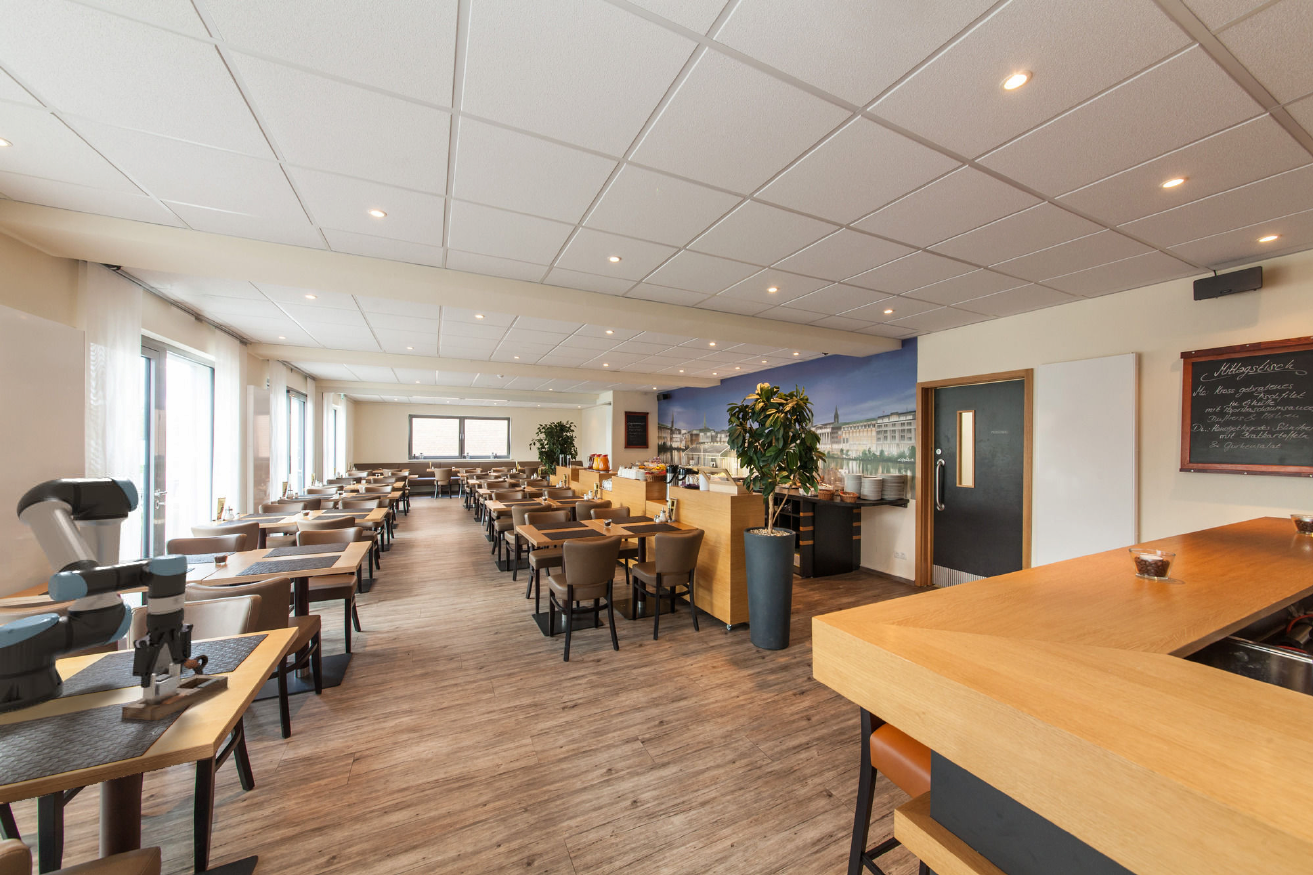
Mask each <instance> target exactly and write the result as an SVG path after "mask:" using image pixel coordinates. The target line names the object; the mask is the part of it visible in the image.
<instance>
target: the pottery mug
mask: <svg viewBox="0 0 1313 875" xmlns="http://www.w3.org/2000/svg"><path fill="white" fill-rule="evenodd" d="M186 660H187V661H186V662H185V663H183V667H184V668H186V669H188V670H192V671H194V674H192V675H191V676H190V677H192V676H194V675H204V671H203V670H204V668H205V667H206V666H207V665H208V663H209V657H208V655H206V654H200V655H198V656H196V657H195V658H187V659H186ZM200 661H201V663H200ZM162 674H166V675H169V668H166V669H162V671H160V672H159V673H158V676H160V675H162Z"/></svg>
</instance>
